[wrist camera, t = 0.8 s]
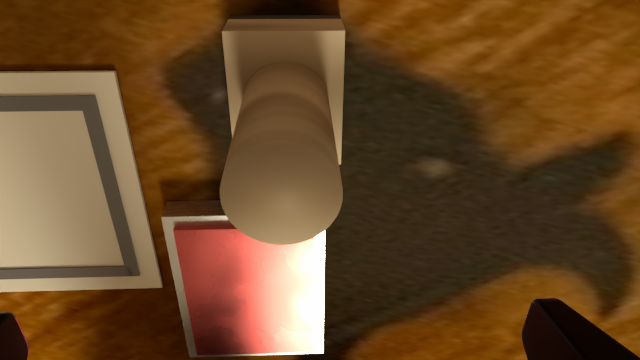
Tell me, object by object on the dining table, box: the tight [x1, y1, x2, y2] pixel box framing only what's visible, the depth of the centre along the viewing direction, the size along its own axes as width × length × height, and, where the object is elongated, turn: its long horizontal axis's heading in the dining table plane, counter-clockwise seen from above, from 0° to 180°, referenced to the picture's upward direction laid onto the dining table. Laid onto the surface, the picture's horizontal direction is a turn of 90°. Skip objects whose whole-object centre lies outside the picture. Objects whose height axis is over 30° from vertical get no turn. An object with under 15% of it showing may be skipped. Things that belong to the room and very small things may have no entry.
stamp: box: [220, 15, 345, 245], centre depth 15 cm, size 5×4×8 cm
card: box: [0, 70, 163, 292], centre depth 21 cm, size 11×10×1 cm
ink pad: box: [161, 200, 325, 358], centre depth 23 cm, size 9×7×2 cm
